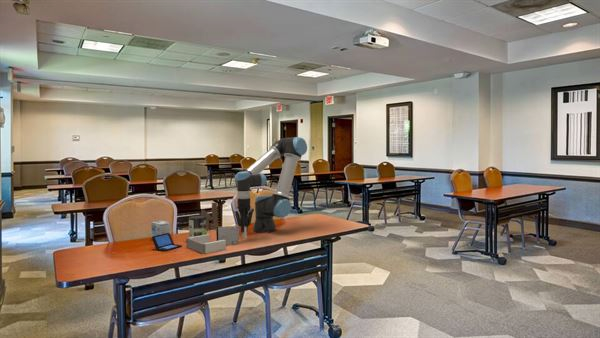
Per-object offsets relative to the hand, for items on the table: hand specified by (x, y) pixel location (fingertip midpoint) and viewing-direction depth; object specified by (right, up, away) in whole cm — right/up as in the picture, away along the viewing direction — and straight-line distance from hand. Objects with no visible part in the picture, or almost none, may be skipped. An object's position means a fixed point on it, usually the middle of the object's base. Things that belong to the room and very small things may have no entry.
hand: (244, 237), depth 229 cm
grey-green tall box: (-28, -2, +4) cm, 29 cm away
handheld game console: (-41, -4, -15) cm, 43 cm away
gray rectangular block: (-8, -3, -7) cm, 11 cm away
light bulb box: (-52, -3, +6) cm, 52 cm away
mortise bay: (-19, -3, -16) cm, 25 cm away
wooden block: (-28, -1, +34) cm, 44 cm away
